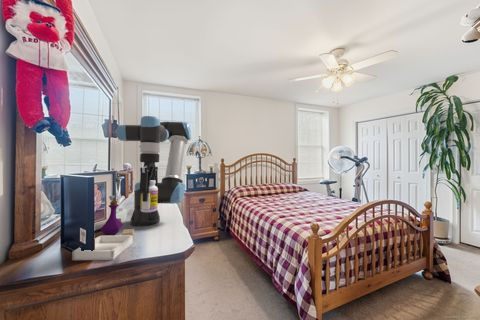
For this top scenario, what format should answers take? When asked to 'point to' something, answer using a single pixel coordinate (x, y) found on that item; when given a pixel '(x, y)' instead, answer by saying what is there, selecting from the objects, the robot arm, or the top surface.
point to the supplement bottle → (151, 197)
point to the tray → (105, 248)
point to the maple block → (128, 232)
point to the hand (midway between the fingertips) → (149, 207)
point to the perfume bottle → (112, 220)
